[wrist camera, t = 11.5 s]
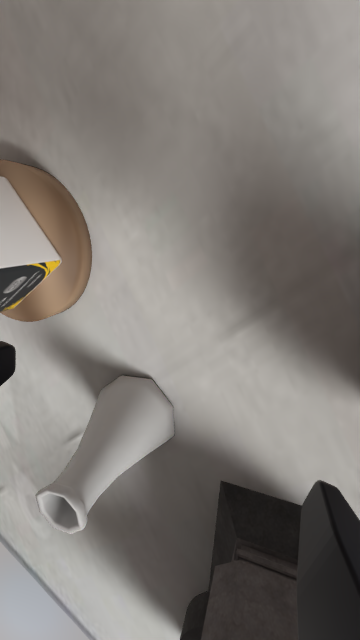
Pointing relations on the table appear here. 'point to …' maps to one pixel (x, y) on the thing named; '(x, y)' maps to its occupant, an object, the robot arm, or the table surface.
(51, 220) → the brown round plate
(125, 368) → the table surface
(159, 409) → the flask
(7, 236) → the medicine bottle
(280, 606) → the juicer
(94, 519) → the table surface
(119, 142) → the table surface
